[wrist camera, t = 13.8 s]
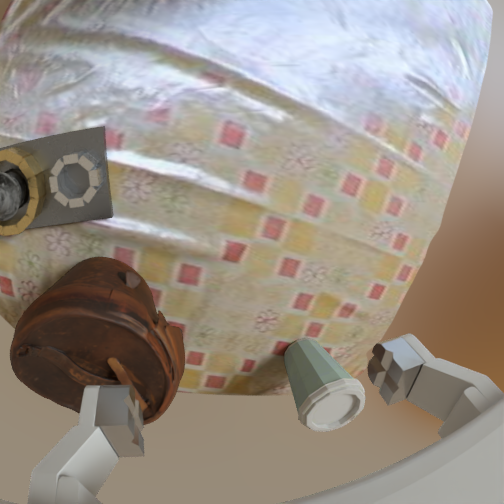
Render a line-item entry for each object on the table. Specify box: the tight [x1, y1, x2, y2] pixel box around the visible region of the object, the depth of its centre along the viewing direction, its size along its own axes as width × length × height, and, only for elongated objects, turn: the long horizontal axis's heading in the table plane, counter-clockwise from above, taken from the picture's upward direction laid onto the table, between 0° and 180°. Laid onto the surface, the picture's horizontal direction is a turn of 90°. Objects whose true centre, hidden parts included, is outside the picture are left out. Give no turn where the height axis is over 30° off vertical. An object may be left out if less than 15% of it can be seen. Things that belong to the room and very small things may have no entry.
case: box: [10, 257, 185, 425], centre depth 33 cm, size 18×20×18 cm
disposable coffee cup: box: [284, 338, 365, 432], centre depth 46 cm, size 11×11×15 cm
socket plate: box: [0, 126, 113, 236], centre depth 30 cm, size 11×19×4 cm, turn 90°
